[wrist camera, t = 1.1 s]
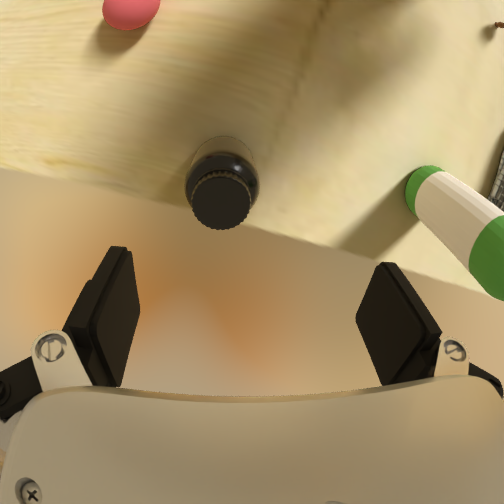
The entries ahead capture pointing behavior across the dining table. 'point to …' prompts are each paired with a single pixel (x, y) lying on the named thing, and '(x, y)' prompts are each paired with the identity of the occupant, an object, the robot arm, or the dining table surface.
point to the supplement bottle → (222, 183)
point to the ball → (129, 13)
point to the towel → (498, 187)
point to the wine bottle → (461, 223)
